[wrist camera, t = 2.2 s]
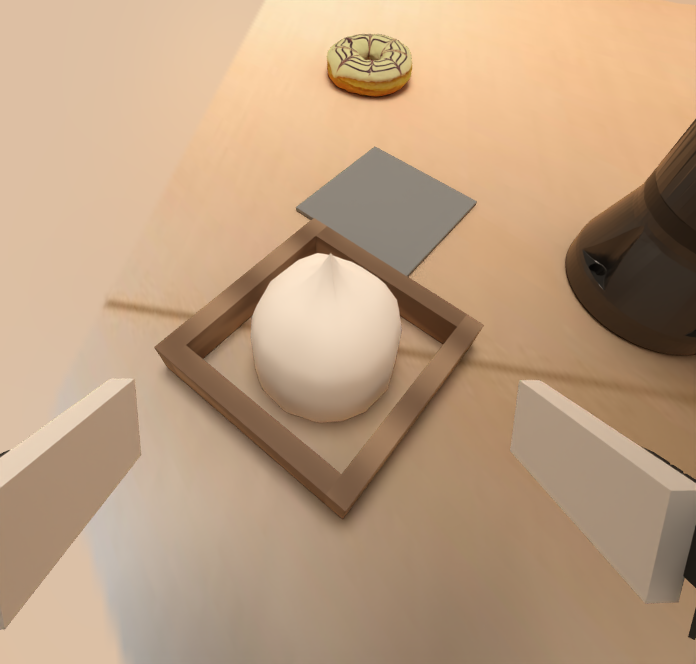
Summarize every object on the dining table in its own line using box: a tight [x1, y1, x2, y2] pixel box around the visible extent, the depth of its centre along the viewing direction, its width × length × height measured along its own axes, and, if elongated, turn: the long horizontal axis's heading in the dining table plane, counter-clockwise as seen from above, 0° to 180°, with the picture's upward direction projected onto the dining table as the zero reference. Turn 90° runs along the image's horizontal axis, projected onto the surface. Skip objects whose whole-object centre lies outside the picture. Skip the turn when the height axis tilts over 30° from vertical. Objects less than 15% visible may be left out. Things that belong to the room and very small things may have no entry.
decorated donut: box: [327, 34, 412, 97], centre depth 54 cm, size 10×11×4 cm
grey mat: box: [296, 147, 477, 277], centre depth 43 cm, size 13×13×1 cm
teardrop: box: [251, 253, 402, 423], centre depth 29 cm, size 11×11×12 cm
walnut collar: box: [154, 218, 484, 519], centre depth 32 cm, size 17×17×3 cm
